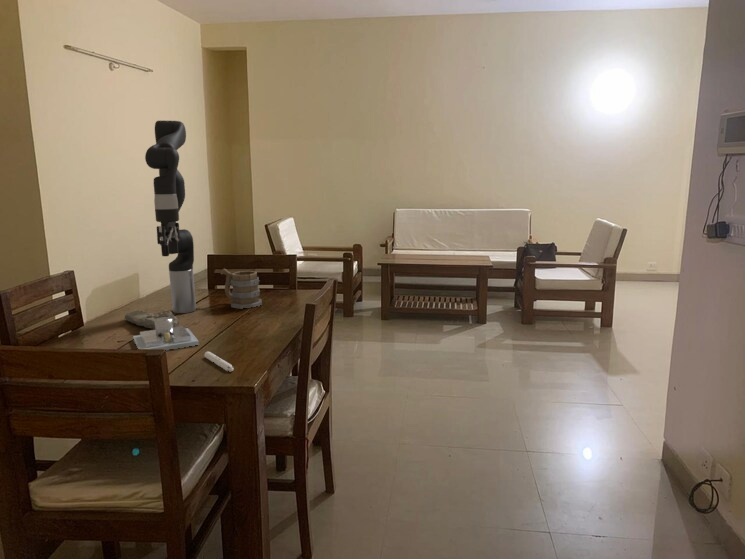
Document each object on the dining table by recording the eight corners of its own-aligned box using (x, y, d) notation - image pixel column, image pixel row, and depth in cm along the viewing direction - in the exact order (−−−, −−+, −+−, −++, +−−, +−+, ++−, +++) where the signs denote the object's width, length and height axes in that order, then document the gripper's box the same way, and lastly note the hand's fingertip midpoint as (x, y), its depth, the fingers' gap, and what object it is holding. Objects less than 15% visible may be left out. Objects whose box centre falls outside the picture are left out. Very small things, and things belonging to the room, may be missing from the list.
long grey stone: (143, 319, 220) (118, 325, 213) (141, 306, 219) (116, 312, 212) (187, 326, 196) (160, 333, 189) (185, 311, 195) (158, 318, 188)
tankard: (267, 303, 237) (265, 269, 234) (246, 310, 227) (244, 274, 224) (234, 298, 248) (232, 265, 245) (212, 304, 237) (210, 270, 234)
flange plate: (140, 336, 187) (138, 317, 186) (183, 330, 194) (181, 311, 192) (145, 347, 175) (143, 327, 174) (191, 340, 181) (189, 320, 180)
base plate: (133, 340, 188) (132, 327, 187) (188, 332, 196) (187, 319, 196) (140, 354, 172) (138, 341, 172) (199, 345, 181) (198, 332, 180)
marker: (236, 372, 156) (235, 364, 156) (229, 374, 155) (229, 366, 155) (210, 357, 170) (210, 349, 170) (204, 358, 169) (203, 351, 169)
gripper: (169, 208, 182) (173, 257, 185) (184, 206, 196) (188, 251, 199) (146, 209, 182) (151, 257, 185) (163, 206, 196) (167, 251, 199)
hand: (170, 254), depth 192 cm, fingers open, 8 cm apart
